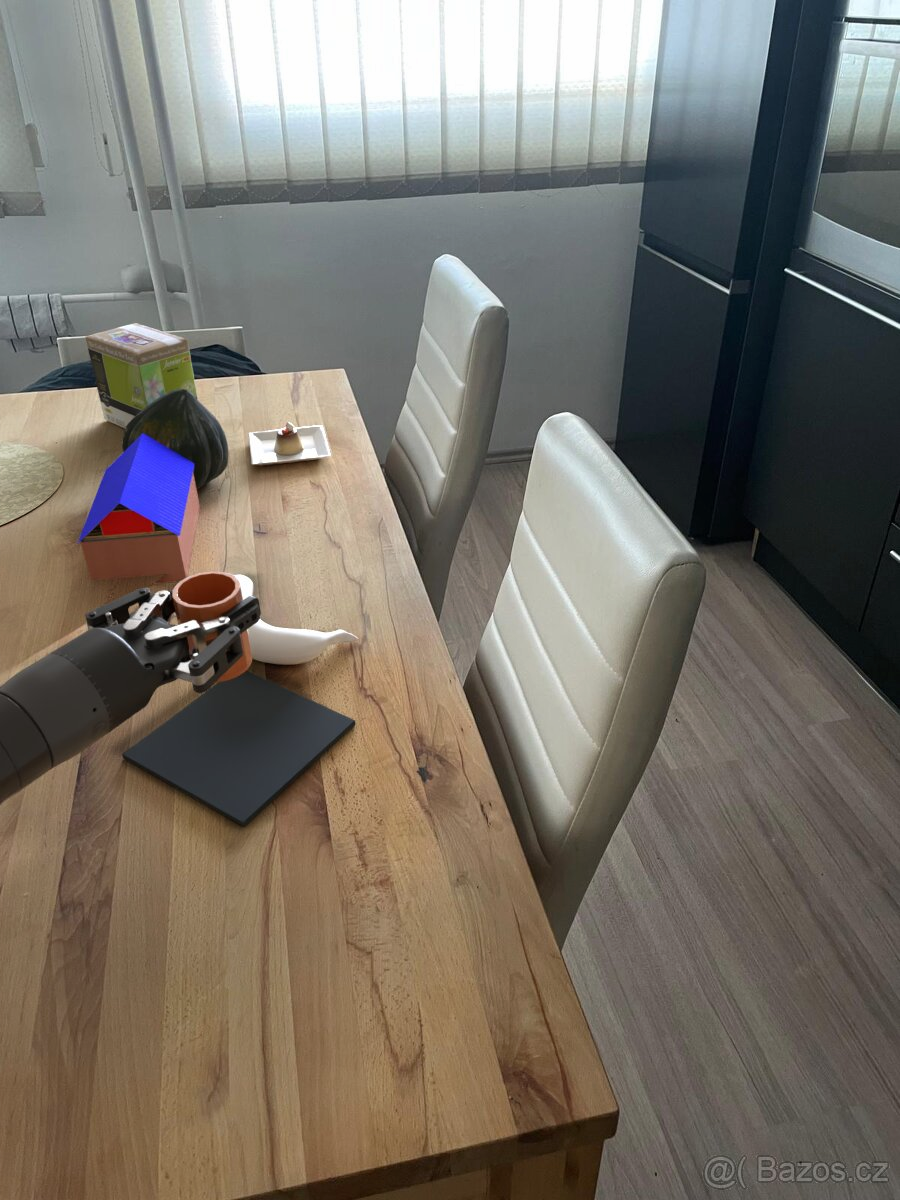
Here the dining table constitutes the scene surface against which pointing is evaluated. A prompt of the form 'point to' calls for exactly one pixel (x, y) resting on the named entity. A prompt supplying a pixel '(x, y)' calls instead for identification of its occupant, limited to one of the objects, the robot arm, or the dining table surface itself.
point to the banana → (288, 638)
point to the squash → (183, 432)
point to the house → (143, 515)
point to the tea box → (137, 369)
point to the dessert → (288, 445)
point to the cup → (211, 609)
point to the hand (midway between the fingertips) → (230, 594)
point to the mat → (239, 744)
